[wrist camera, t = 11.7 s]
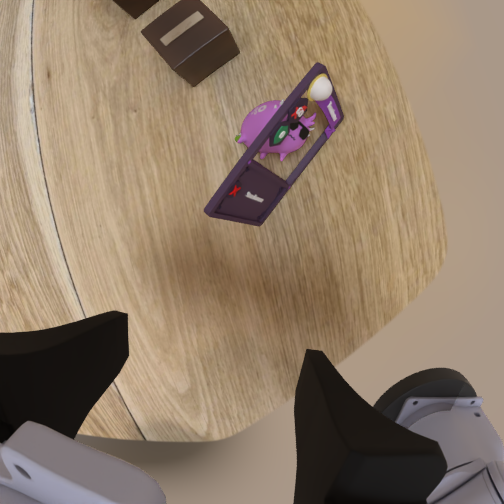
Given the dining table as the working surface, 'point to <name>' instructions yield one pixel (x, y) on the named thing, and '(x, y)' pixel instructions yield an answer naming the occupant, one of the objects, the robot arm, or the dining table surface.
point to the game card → (274, 149)
